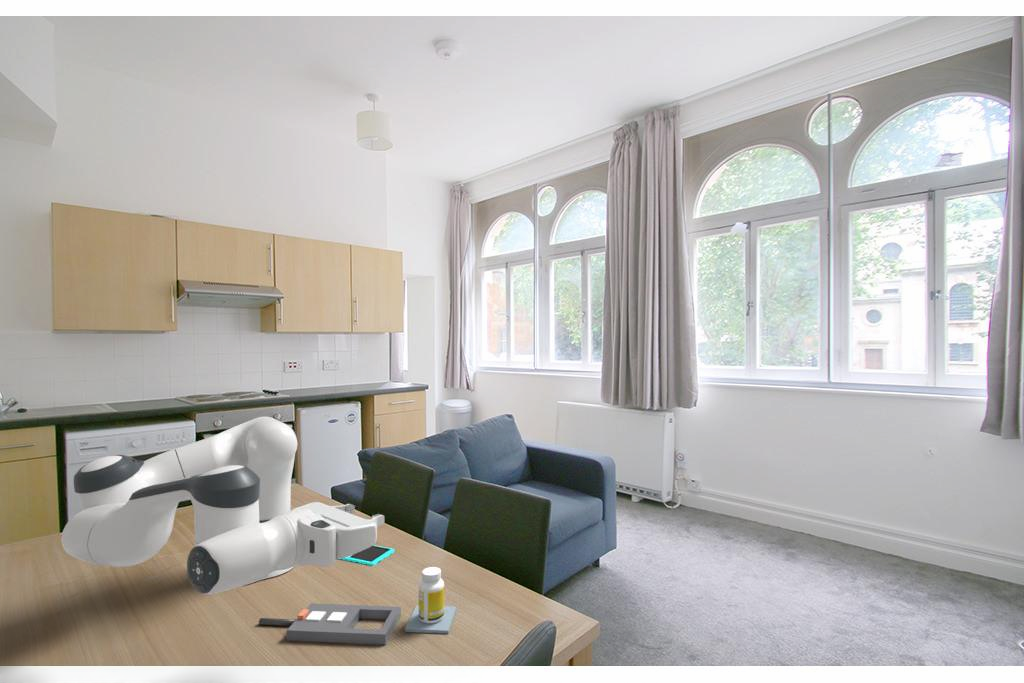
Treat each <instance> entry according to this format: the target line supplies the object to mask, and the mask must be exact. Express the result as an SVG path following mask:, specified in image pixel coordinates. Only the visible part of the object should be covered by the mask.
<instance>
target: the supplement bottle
mask: <svg viewBox="0 0 1024 683" xmlns="http://www.w3.org/2000/svg"><path fill="white" fill-rule="evenodd" d="M441 577H442V570H441V568H440V567H437V566H428V567H426V568H424V569H423V570H422V571H421V579H422V580H421V581H420V582H419V584H418V605H419V619H420V621H421V622H423V623H436V622H439V621H440V620H442V619H443V617H444V606H445V582H444V580H443V578H441Z"/></svg>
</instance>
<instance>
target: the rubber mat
mask: <svg viewBox="0 0 1024 683" xmlns="http://www.w3.org/2000/svg"><path fill="white" fill-rule="evenodd" d="M456 609H457V606H449V605H447V606H446V605H444V617H443V619H442V620H440V621H439V622H436V623H423V622H421V621H420V619H419V604H418V605H415V608H414V609H413V611H412V613H411V616H410V618H409V620H408V621H407V623H406V626H405V627H404V632H406V633H425V634H427V633H428V634H429V633H430V634H447V633H448V634H449V633H450V629H451V628H452V627H451V626H452V625H453V622H454V619H453V618H455V616H456V613H455V612H457V610H458V609H457V610H456ZM454 615H455V616H454ZM452 621H453V622H452ZM451 624H452V625H451ZM450 627H451V628H450Z"/></svg>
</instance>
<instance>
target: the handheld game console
mask: <svg viewBox="0 0 1024 683" xmlns="http://www.w3.org/2000/svg"><path fill="white" fill-rule="evenodd" d="M394 553H395V549H394V548H390V547H385V546H381V545H380V546H379V545H375V544H374V545H373V546H371V547H369V548H367V549H365V550H363V551H360V552H358V553H356V554H354V555H351V556H348V557H345V558H340V559H339V560H341V559H342V561H348V562H351V561H352V562H353V563H356V562H358V563H357V564H361V563H362V565H366V564H367V566H372V567H373V566H375V565H377V564H379V563H380V562H382V561H383V560H385V559H386V558H388V557H389V556H390V555H392V554H394ZM383 558H384V559H383Z"/></svg>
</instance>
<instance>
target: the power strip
mask: <svg viewBox="0 0 1024 683" xmlns="http://www.w3.org/2000/svg"><path fill="white" fill-rule="evenodd" d="M401 616H402V607H401V606H387V605H363V604H361V605H359V604H338V603H337V604H334V603H313V602H312V603H310V604H309V605H308V606H307V607H306V608H304V609H302V610H301V611H300V612H299V614H297V618H296V619H295V618H294V619H293V618H274V617H273V618H271V617H260V618H259V620H258V624H259V625H260V626H261V625H263V626H265V625H266V626H283V627H284V626H285V627H288V628H287V629H286V641H289V642H295V641H296V642H313V643H314V642H315V643H317V642H318V643H336V644H337V643H339V644H340V643H341V644H358V645H359V644H360V645H378V646H382V645H384V646H385V645H387V643H388V641H389V639H390V637H391V635H392V634H393V631H394V630H395V628H396V626H397V624H398V623H399V621H400V619H401ZM360 619H362V620H363V619H364V620H385V621H384V623H383V625H382V626H381V629H376V628H375V629H373V628H369V629H368V628H355V627H356V625H357V623H358V622H359V620H360Z"/></svg>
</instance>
